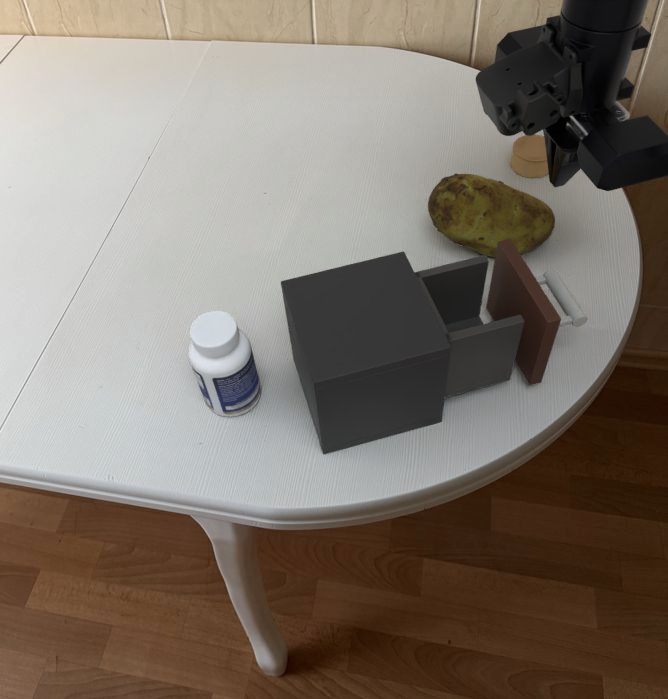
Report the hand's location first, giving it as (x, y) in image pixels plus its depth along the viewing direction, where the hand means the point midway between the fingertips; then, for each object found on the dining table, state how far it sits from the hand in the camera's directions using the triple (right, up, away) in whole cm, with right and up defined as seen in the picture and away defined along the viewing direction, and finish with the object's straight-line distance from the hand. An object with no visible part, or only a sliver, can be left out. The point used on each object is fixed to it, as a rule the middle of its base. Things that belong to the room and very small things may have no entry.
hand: (556, 184), depth 63 cm
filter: (+4, +7, +21) cm, 22 cm away
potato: (-3, -3, +13) cm, 14 cm away
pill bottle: (-29, -19, +3) cm, 35 cm away
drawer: (-5, -15, +3) cm, 16 cm away
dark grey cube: (-17, -18, +3) cm, 25 cm away
